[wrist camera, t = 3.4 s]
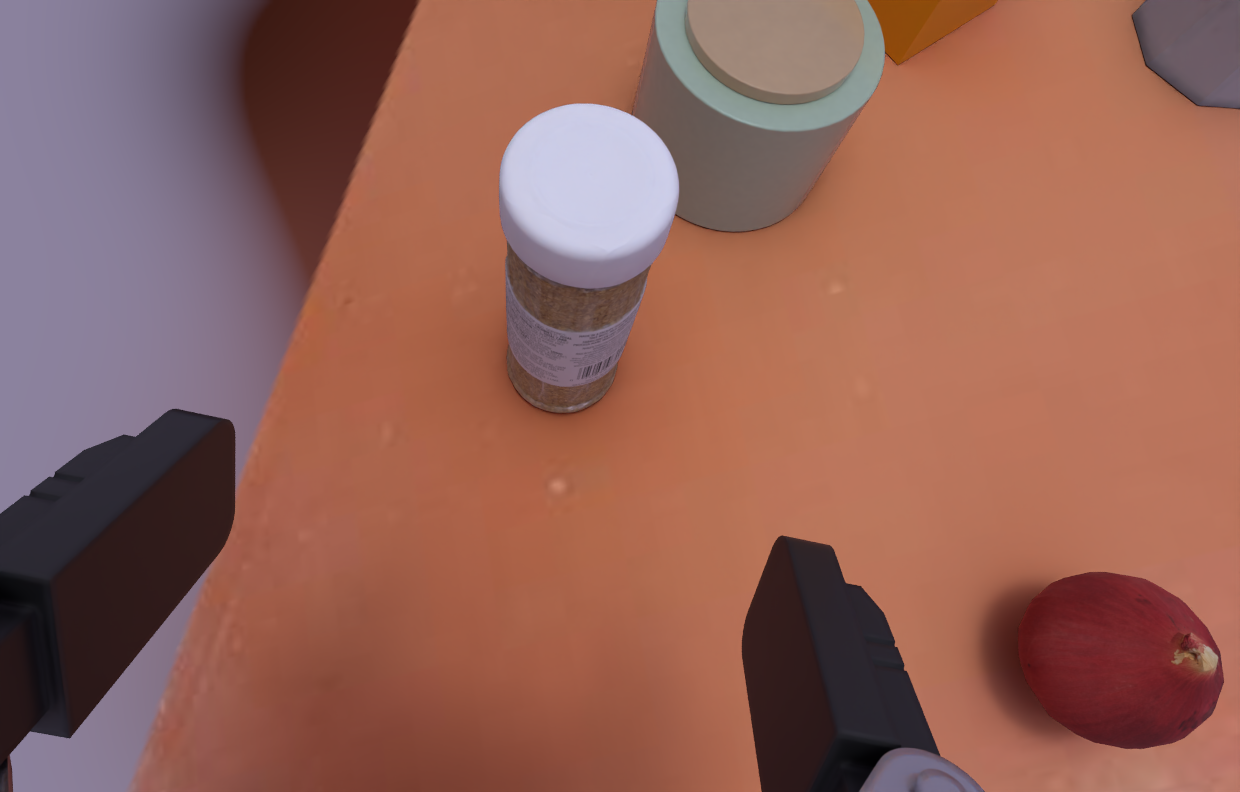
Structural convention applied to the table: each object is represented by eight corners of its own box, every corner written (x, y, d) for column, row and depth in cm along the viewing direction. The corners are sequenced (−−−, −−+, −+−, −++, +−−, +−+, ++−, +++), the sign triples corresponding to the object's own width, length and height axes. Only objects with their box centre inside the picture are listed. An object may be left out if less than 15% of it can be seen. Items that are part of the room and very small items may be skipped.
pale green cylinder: (599, 187, 35) (623, 61, 27) (665, 41, 38) (701, -107, 30) (787, 261, 35) (861, 156, 27) (837, 109, 38) (915, -22, 30)
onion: (1110, 597, 32) (1297, 579, 24) (1115, 749, 30) (1319, 781, 22) (975, 569, 31) (1122, 542, 24) (972, 721, 29) (1130, 744, 22)
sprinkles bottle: (588, 298, 33) (636, 75, 20) (634, 392, 32) (714, 220, 19) (487, 335, 32) (469, 124, 19) (530, 435, 31) (543, 280, 18)
